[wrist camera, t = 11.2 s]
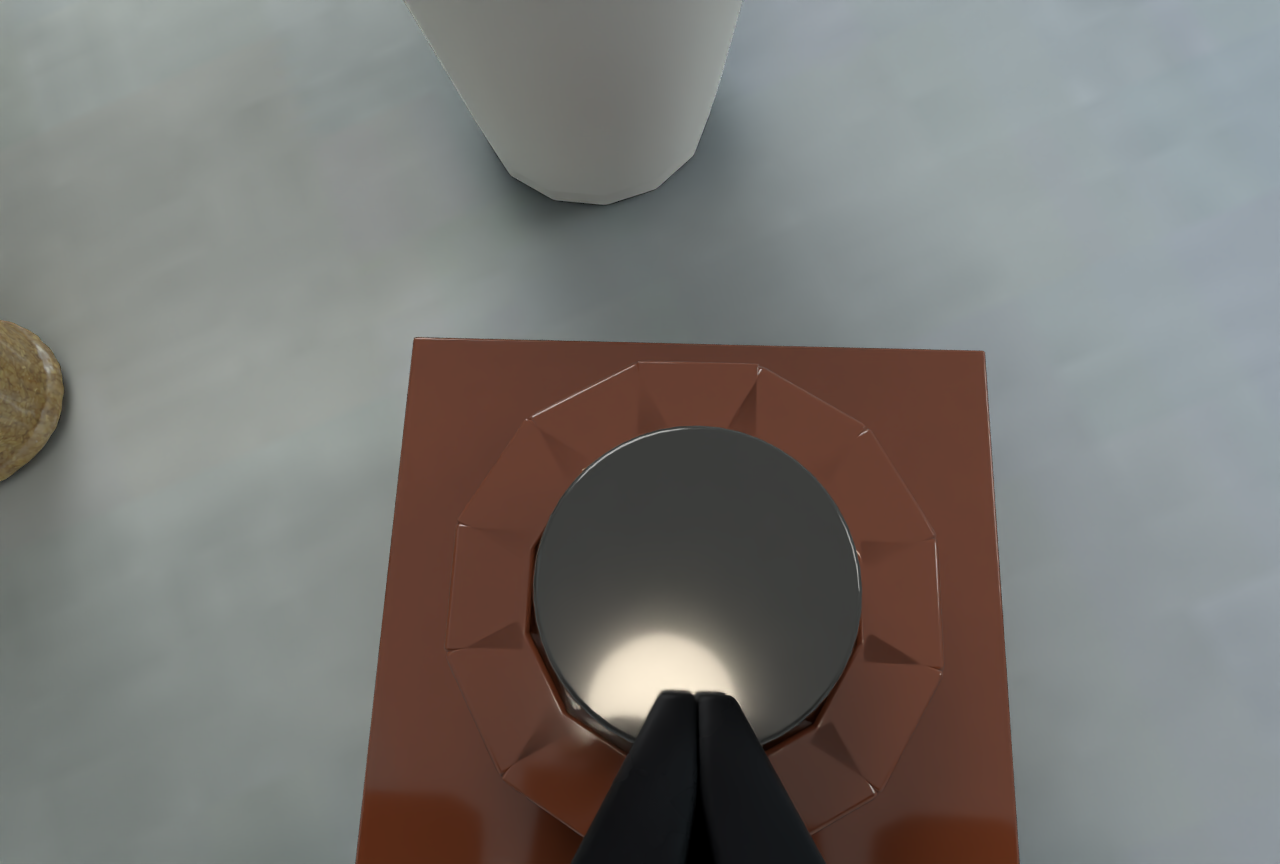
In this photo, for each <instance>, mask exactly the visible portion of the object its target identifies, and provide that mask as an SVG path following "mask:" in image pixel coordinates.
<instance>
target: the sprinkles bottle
mask: <svg viewBox="0 0 1280 864" xmlns="http://www.w3.org/2000/svg"><path fill="white" fill-rule="evenodd" d="M63 394H64V387H63V383H62V373H61V369H60V365H59V363H58V361H57V360H56V358H55V356H54V354H53V353H52V351H51V350H50V348H49V347H48V346H47V345H45V344H44V343H43V342H42V341H41V339H40V338H39V337H38V336H37V335H35V334H34V333H32V332H31V331H29V330H27V329H25V328H22V327H20V326H18V325H16V324H14V323H12V322H9V321H3V320H0V481H3V480H5V479H7V478H8V477H10V476H11V475H12V474H14V473H15V472H16V471H17V470H18V469H20V468H21V467H22V466H24V465H25V464H27V463H28V462H29V461H30V460H31V459H33V458H34V456H35V455H36V454H37V453H38V452H39V451H40V450H41V449H42V448H43V447H44V446H45V444H46V443H47V441H48V439H49V438H50V436H51V434H52V433H53V432H54V430H55V429H56V427H57V423H58V420H59V417H60V414H61V410H62V398H63Z"/></svg>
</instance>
